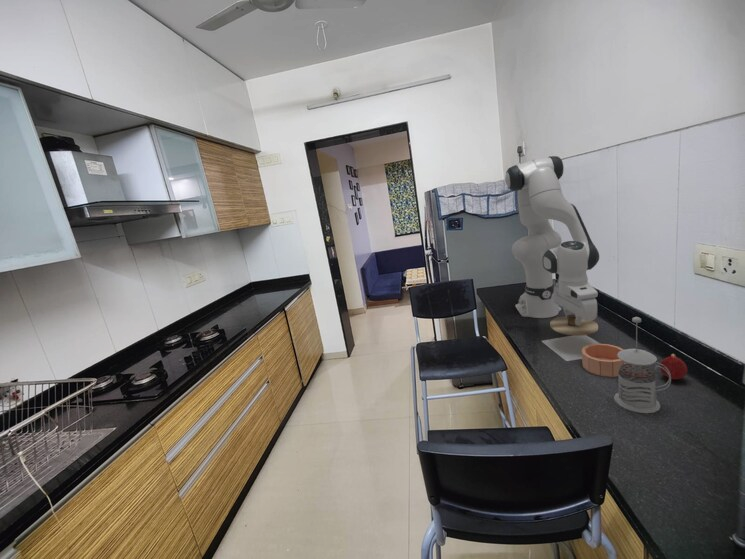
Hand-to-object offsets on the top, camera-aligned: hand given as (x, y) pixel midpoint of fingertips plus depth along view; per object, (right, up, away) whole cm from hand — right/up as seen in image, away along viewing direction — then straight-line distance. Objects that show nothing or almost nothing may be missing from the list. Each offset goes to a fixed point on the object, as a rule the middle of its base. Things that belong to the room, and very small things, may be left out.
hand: (573, 322), depth 116 cm
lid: (0, -2, 0) cm, 2 cm away
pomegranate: (+14, -14, -24) cm, 31 cm away
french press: (-1, -18, -30) cm, 35 cm away
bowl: (+2, -13, -13) cm, 19 cm away
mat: (+2, -10, +2) cm, 10 cm away
